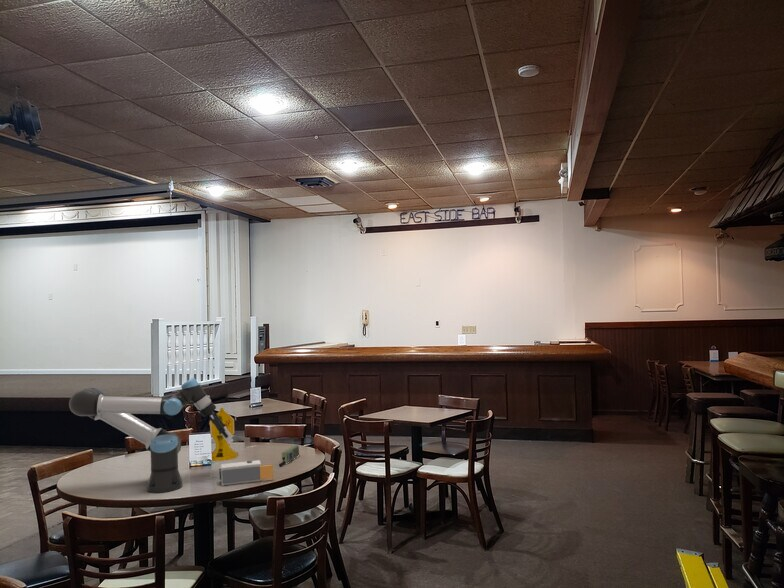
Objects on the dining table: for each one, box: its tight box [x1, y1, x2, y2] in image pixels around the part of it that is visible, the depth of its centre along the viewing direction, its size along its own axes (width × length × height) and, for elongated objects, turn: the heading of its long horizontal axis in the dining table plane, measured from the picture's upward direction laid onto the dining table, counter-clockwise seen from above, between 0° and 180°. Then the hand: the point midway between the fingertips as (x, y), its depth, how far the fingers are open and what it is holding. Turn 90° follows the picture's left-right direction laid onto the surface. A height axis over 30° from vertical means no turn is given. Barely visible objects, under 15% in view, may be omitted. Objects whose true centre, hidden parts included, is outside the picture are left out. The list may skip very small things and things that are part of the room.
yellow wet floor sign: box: [208, 407, 239, 462], centre depth 325 cm, size 18×24×28 cm
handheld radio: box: [278, 444, 300, 467], centre depth 309 cm, size 7×3×25 cm
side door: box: [222, 464, 274, 484], centre depth 268 cm, size 23×1×6 cm, turn 107°
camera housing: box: [218, 459, 262, 486], centre depth 272 cm, size 19×8×9 cm, turn 107°
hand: (230, 440), depth 286 cm, fingers open, 13 cm apart
